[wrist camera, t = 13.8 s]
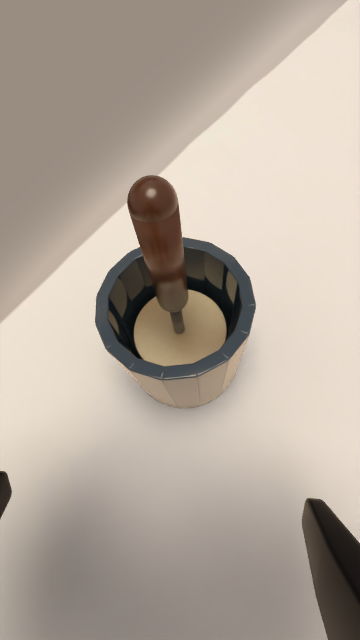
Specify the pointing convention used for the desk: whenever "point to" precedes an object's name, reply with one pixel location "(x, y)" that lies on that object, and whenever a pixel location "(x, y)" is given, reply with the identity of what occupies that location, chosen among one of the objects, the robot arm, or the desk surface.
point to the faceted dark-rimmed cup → (137, 290)
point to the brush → (169, 283)
